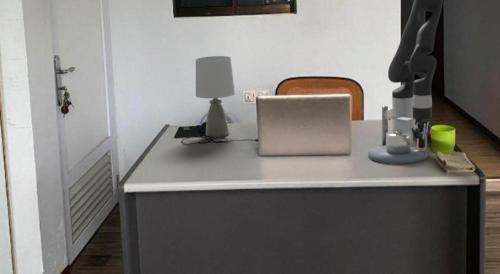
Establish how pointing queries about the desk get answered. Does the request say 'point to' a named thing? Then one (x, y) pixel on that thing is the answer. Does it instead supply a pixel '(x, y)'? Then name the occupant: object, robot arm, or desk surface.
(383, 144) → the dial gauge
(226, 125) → the lamp
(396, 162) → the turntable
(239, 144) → the desk surface
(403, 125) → the skincare box
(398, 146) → the cover
